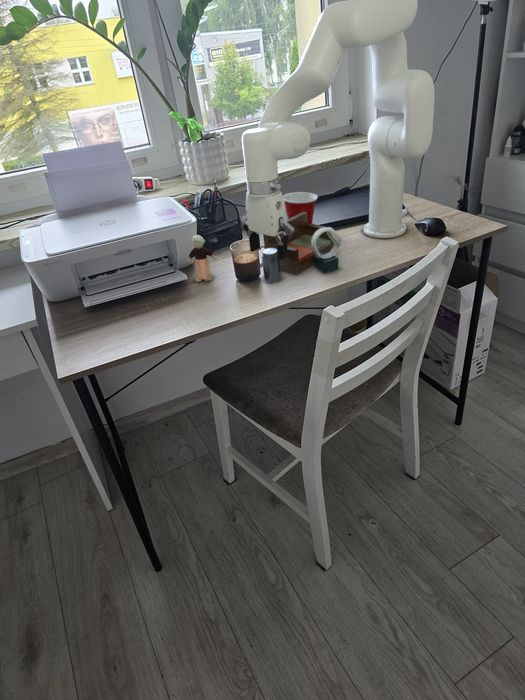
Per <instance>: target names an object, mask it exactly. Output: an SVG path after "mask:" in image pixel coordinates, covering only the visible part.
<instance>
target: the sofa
mask: <svg viewBox="0 0 525 700" xmlns="http://www.w3.org/2000/svg"><path fill="white" fill-rule="evenodd" d="M287 222H288V223H289V224H290V225H291V226H292V227H293V228H294V233H293V235H292V238H291V239H290V240H289V242H287V246H288V257H286V258H284V259H282V260H279V262H280V271H282V272H285V273H288V274H291V275H295V276H297V275H299V274H301V273H302V272H304V271H306V270H308V269H309V268H310V267H312V266H314V255H316V254H315V253H314V251H313V250H312V248H311V239H312V237H313V234H315V232H316V231H317V230H318V229H320V228H323V227H327V228H329V227H330V226H325V225H320V224H315V223H313V222H312V223H308V222H307V212H301V213H299V214H297V215H295V216H293V217H291V218H289V219H288V218H287ZM331 228H332V229H334V230H335V228H334V227H331ZM277 232H279V231H277ZM285 233H286V231H285ZM262 235H263V246H264V250H265V249H267V248H275V249H277V245H279V244H278V242H277V240H276V239H275V237H273V236H268V235H264V234H262ZM279 236H280V238H281V239H282V238H283V237H282V236H281V234H280V235H279ZM315 243H316V247H317V248H318V251H319V252H320V253H324V252H327V251H328V252H330V251H331V249H332V248H333V246H334V243H333V241H332V240H331V239H330V238H329V237H328V235H327V234H326V232H324V233H322V234H321V235H320V236H319V237H318V238H317V240H316V242H315Z"/></svg>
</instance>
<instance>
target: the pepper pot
mask: <svg viewBox="0 0 525 700" xmlns="http://www.w3.org/2000/svg"><path fill="white" fill-rule="evenodd" d="M261 261H262V270H263V278H264V282H266V283H270V284H272V283H277V282H280V281H281V280H282V274H281V273H282V272H281V270H280V262H279V260H278V254H277V249H275V248H267V249H265V248H264V249H263V250H262V254H261Z"/></svg>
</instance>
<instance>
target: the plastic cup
mask: <svg viewBox="0 0 525 700" xmlns="http://www.w3.org/2000/svg"><path fill="white" fill-rule="evenodd" d="M318 198H319V196H318V195H317V194H316V193H313V192H307V191H295V192H289V193H286V194H284V195H283V199H284V203H285V208H286V215H287V219H289V218H291V217H293V216H295V215H297V214H299V213H301V212H307V222H308V223H312V224H313V220H314V212H315V206H316V202H317V200H318Z"/></svg>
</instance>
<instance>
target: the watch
mask: <svg viewBox="0 0 525 700" xmlns="http://www.w3.org/2000/svg"><path fill="white" fill-rule="evenodd" d="M327 227H329V228H327ZM332 228H333V227H330V226H325V227H323V228H320V229H318V230H317V231H316V232H315V234H313V237H312V239H311V248H312V250H313V251H314V253H315V254H316V255H314V265H313V266H314V267H315V268H316V269H318V270H319V271H320V272H322V273H323V274H327V273H331V272H334V271H338V270H339V257H337V256H335V255H336V254H337V253H338V252H339V250H340V247H341V245H342V243H341V242H342V241H343V240H342V238H341V236H340V235H339V234H338V232H337V231H336V230H335V228H334V229H332ZM324 232H326V234H327V235H328V237H329V238H330V239H331V240H332V241H333V243H334V246H333V248H332V249H331V251H330V252H328V251H327V252H324V253H320V252H319V251H318V248H317V247H316V243H315V242H316V240H317V238H318V237H319V236H320V235H321V234H322V233H324Z"/></svg>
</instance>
